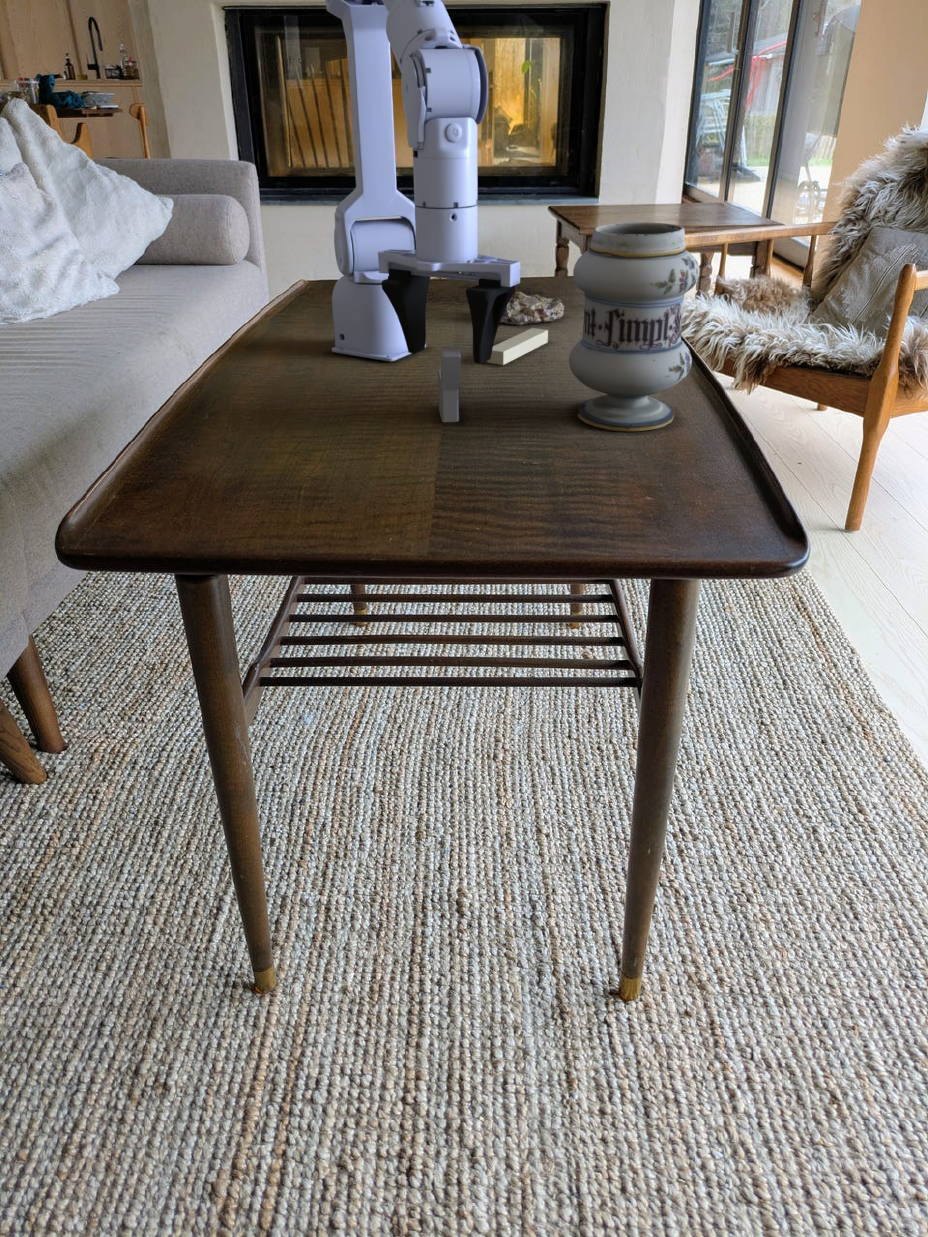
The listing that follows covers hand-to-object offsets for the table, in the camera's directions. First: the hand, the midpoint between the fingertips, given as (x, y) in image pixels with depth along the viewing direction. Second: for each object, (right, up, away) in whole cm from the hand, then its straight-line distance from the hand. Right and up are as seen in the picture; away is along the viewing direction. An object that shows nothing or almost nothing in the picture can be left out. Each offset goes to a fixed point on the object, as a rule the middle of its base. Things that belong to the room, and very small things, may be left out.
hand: (448, 355), depth 89 cm
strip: (+8, +8, +25) cm, 27 cm away
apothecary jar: (+18, -5, +4) cm, 19 cm away
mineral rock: (+11, +17, +40) cm, 44 cm away
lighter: (0, -6, +4) cm, 7 cm away
